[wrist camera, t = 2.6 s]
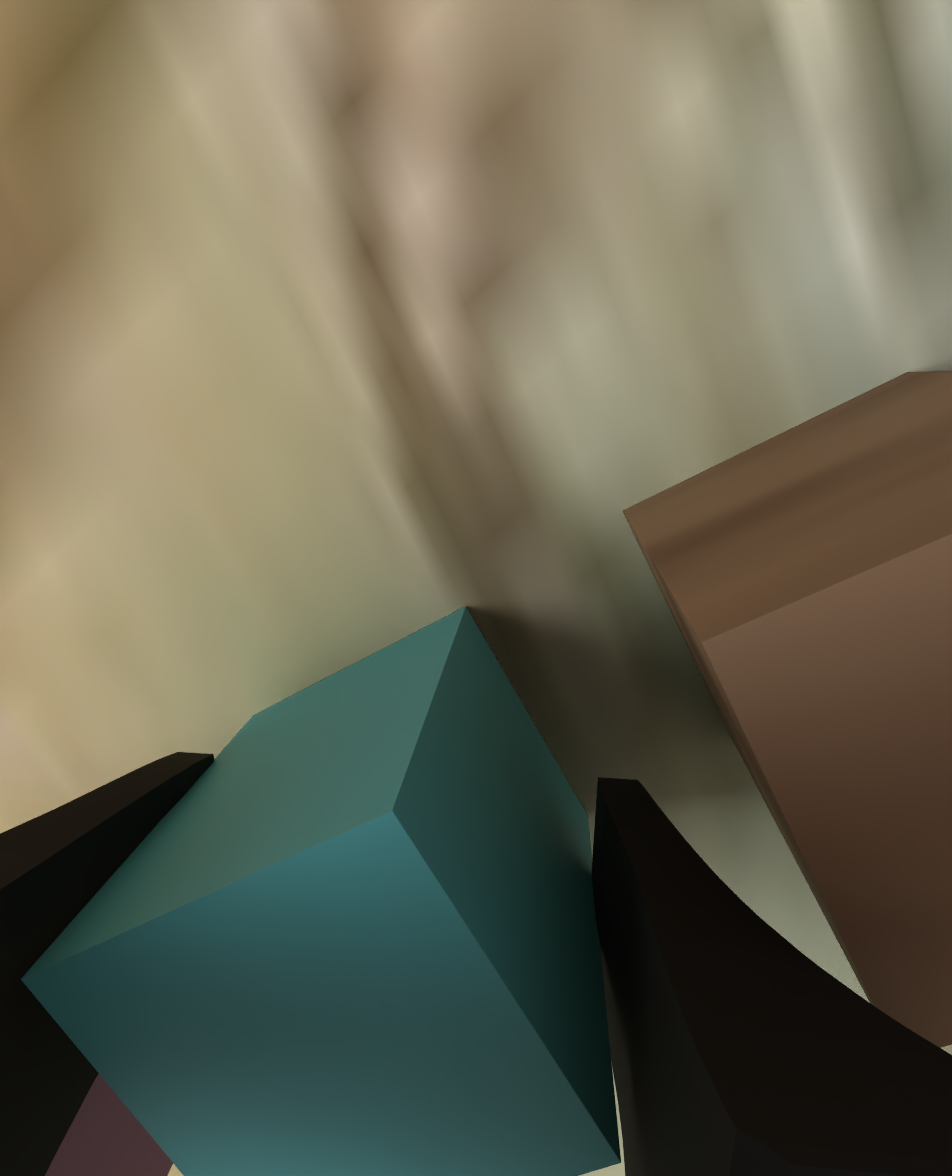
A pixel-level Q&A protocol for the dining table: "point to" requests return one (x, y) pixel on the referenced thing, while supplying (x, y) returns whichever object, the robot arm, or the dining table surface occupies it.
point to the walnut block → (838, 663)
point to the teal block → (358, 941)
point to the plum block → (108, 1141)
